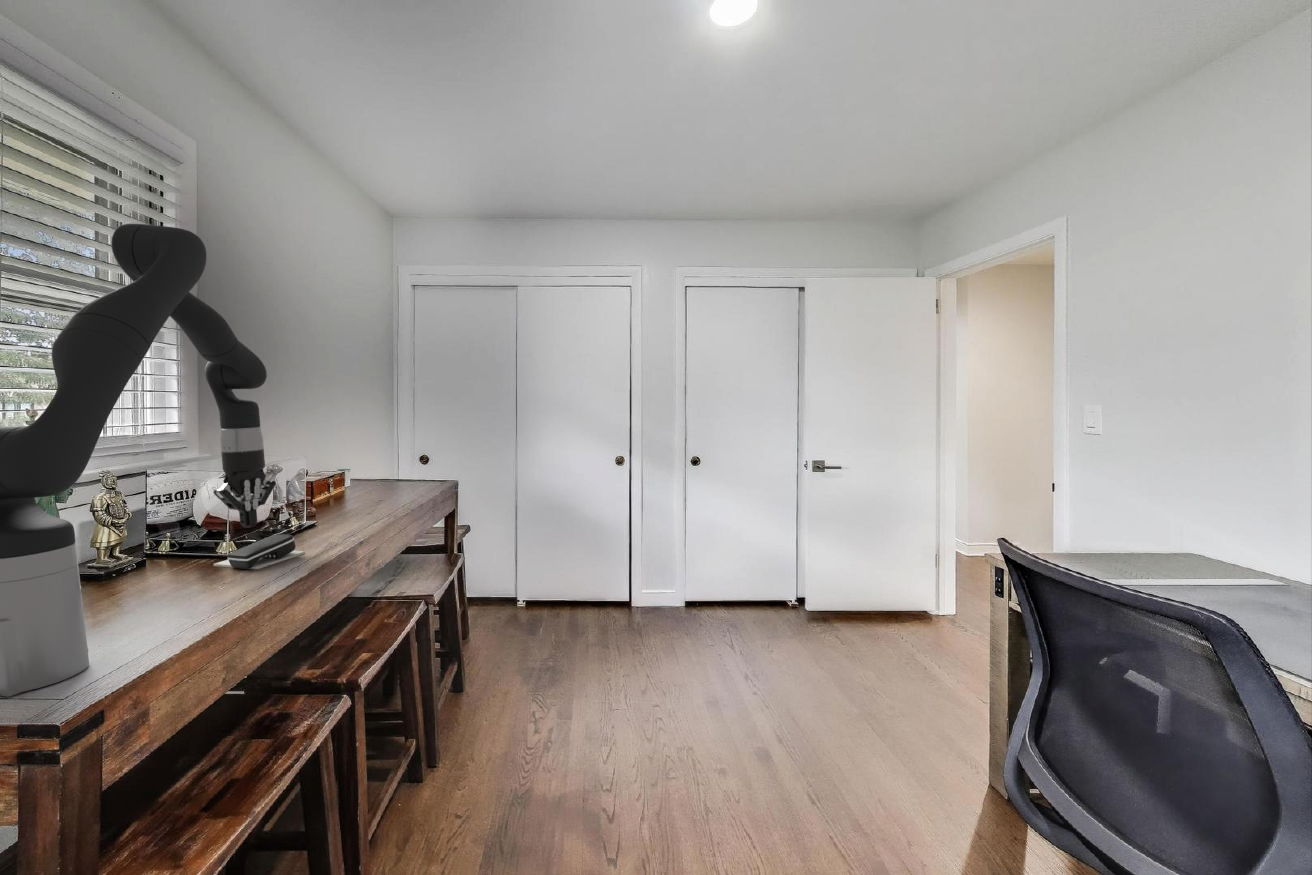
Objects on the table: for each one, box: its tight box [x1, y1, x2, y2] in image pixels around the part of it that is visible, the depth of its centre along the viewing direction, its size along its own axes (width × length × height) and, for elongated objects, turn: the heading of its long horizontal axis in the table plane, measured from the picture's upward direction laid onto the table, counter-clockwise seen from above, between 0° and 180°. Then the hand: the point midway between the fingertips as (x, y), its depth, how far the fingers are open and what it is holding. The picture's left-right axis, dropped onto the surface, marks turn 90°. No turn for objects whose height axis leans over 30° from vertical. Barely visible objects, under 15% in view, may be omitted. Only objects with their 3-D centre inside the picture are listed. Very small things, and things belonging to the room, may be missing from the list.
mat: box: [213, 550, 306, 570], centre depth 128 cm, size 12×12×1 cm
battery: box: [226, 533, 296, 570], centre depth 125 cm, size 7×4×11 cm
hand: (249, 526), depth 125 cm, fingers closed
